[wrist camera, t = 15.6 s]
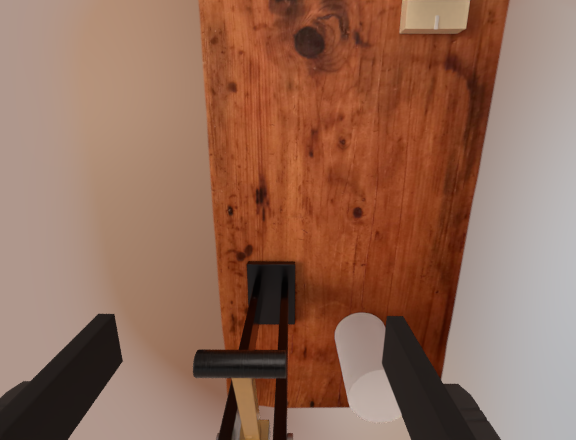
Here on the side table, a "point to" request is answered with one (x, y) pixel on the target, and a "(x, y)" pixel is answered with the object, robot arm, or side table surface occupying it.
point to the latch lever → (243, 381)
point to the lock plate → (433, 16)
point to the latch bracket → (262, 310)
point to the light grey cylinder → (365, 368)
